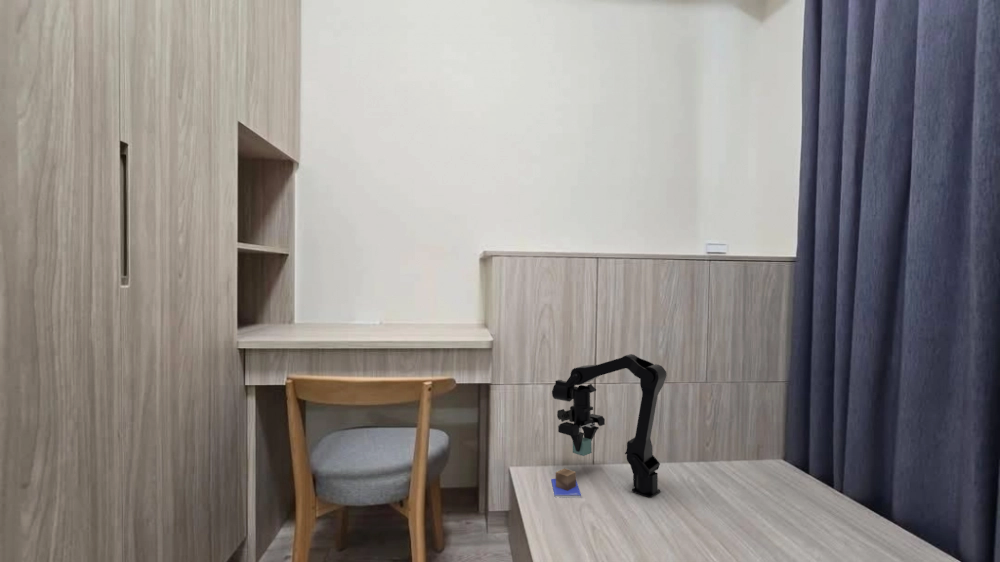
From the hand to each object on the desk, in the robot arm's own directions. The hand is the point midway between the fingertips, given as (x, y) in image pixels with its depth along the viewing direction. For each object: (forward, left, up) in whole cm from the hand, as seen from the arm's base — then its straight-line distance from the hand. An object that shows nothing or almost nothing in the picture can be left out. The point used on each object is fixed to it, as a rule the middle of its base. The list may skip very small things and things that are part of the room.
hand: (582, 449), depth 163 cm
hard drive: (-4, +13, -9) cm, 17 cm away
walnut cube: (-4, +13, -8) cm, 16 cm away
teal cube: (0, 0, -1) cm, 1 cm away
